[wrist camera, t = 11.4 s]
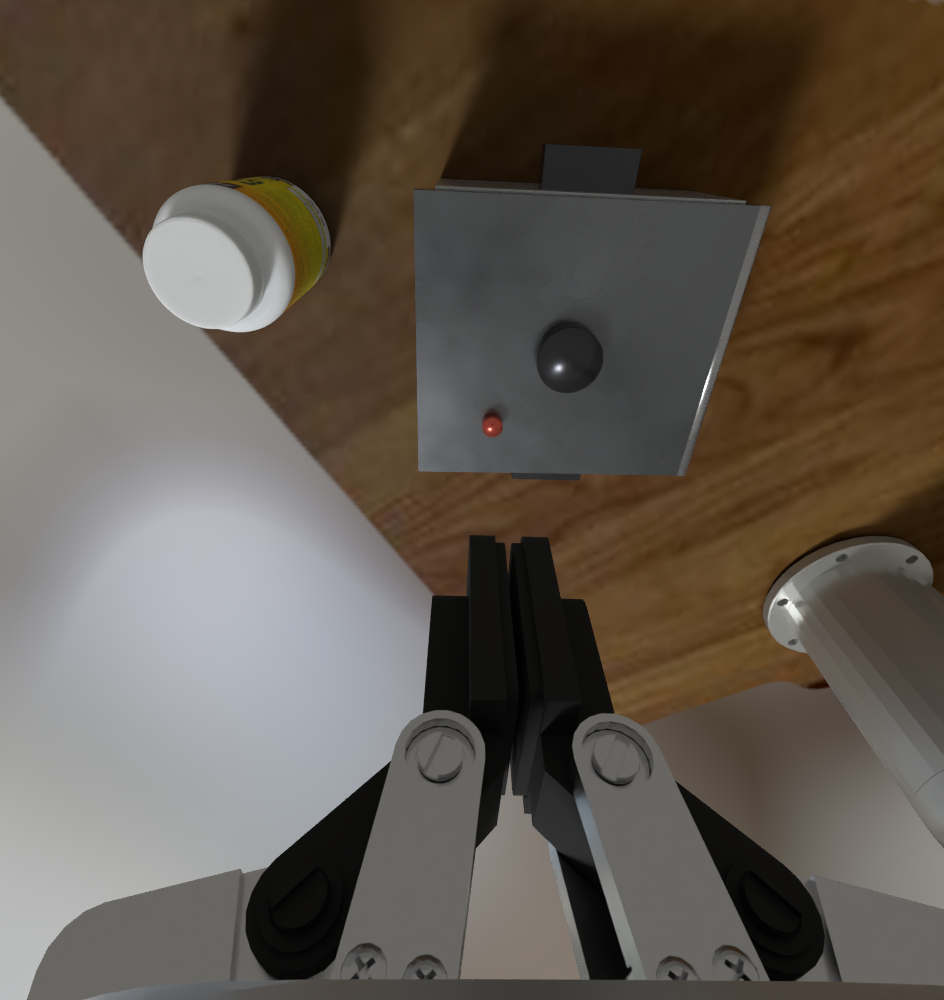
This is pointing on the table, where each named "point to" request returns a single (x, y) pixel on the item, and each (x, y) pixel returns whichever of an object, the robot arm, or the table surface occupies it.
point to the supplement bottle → (236, 252)
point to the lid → (572, 328)
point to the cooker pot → (583, 194)
